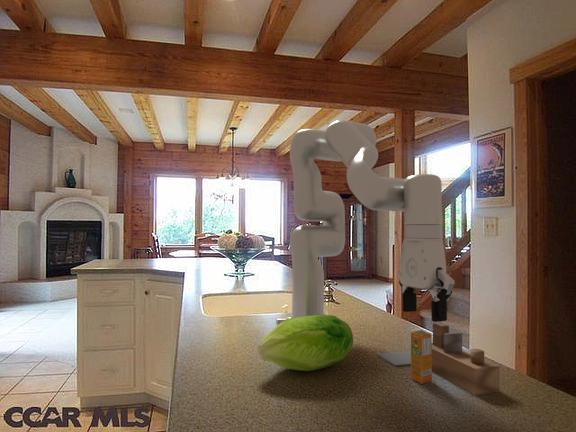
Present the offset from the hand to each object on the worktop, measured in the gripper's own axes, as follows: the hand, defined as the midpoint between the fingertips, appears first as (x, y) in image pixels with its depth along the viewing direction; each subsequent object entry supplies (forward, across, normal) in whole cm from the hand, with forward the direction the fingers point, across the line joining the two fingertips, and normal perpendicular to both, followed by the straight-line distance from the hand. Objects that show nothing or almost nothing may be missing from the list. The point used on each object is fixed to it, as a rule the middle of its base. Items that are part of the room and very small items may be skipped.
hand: (423, 315), depth 82 cm
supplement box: (+14, -1, 0) cm, 14 cm away
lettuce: (+13, -13, -21) cm, 28 cm away
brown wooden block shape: (+14, 0, +8) cm, 16 cm away
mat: (+13, -13, +3) cm, 19 cm away
